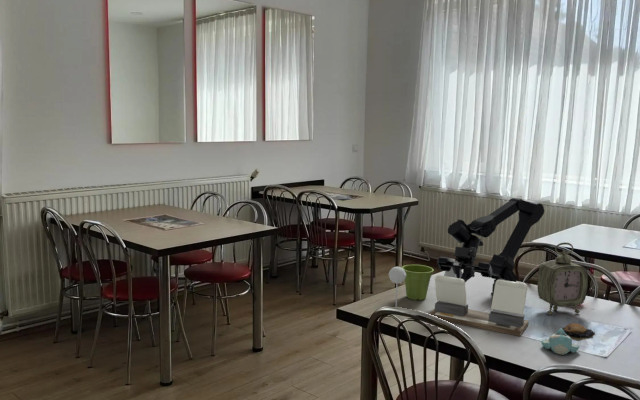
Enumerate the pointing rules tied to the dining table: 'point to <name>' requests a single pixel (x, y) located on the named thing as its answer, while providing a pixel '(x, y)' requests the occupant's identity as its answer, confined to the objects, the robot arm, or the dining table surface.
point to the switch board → (481, 318)
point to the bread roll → (578, 331)
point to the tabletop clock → (562, 282)
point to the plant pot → (417, 281)
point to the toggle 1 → (450, 290)
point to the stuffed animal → (560, 343)
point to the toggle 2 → (509, 297)
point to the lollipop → (397, 277)
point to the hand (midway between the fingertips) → (458, 287)
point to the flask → (451, 272)
